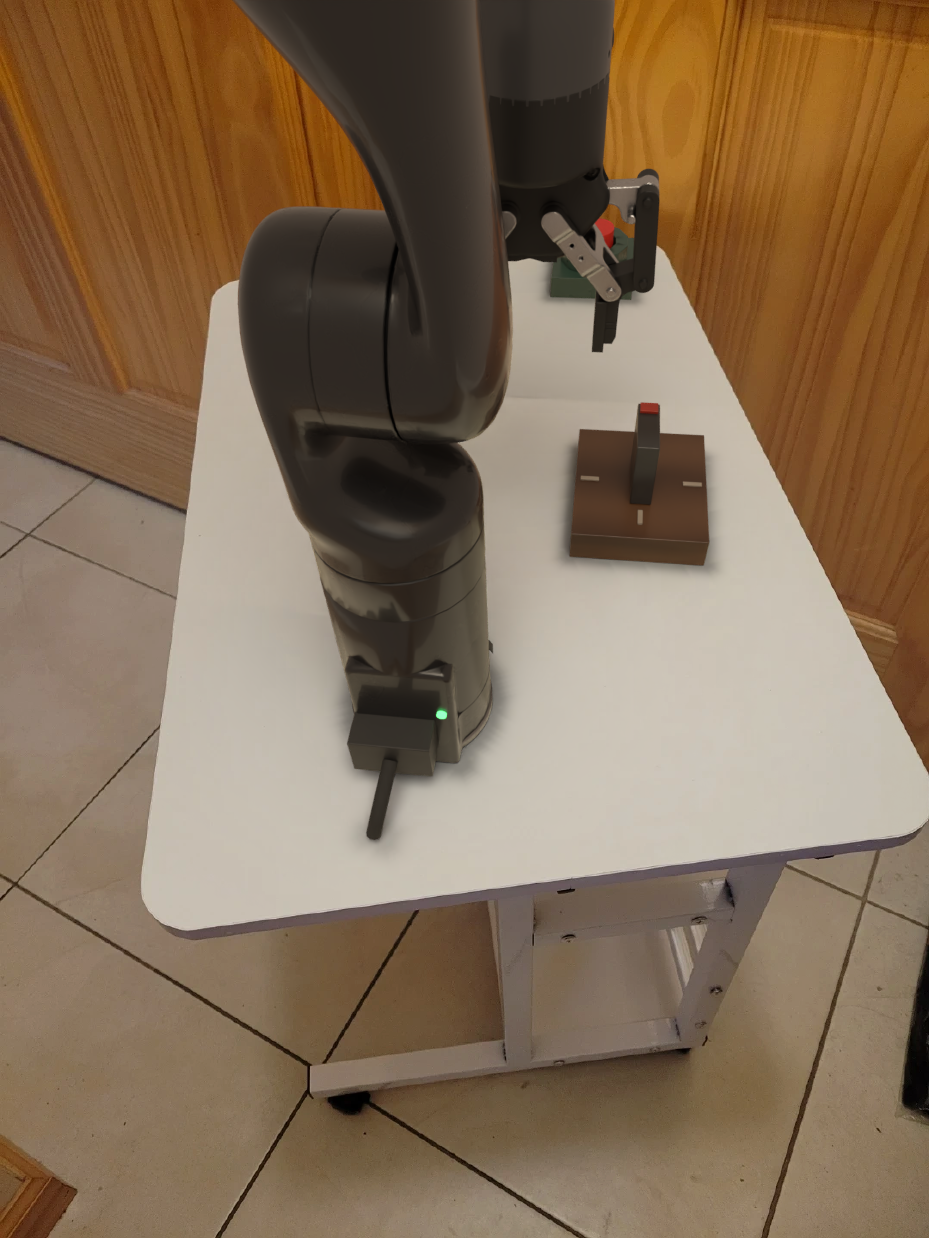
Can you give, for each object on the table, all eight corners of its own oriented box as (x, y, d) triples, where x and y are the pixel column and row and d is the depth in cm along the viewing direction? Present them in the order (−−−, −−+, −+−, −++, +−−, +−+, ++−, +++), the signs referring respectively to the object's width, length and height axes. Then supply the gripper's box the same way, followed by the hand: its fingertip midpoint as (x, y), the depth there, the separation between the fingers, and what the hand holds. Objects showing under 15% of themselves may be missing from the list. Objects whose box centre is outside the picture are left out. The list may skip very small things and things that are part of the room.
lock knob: (651, 505, 67) (660, 446, 63) (629, 503, 68) (637, 445, 63) (651, 460, 70) (660, 401, 66) (630, 459, 71) (638, 400, 66)
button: (612, 254, 88) (613, 237, 86) (575, 253, 88) (576, 236, 87) (613, 235, 90) (614, 218, 89) (577, 234, 90) (578, 217, 89)
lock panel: (703, 565, 67) (709, 541, 65) (569, 557, 68) (571, 532, 66) (699, 458, 74) (704, 433, 72) (577, 452, 75) (579, 427, 73)
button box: (630, 300, 89) (635, 263, 86) (550, 297, 90) (551, 260, 87) (632, 257, 94) (636, 220, 91) (555, 255, 95) (557, 219, 92)
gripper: (376, 93, 42) (409, 376, 55) (684, 93, 41) (644, 384, 53) (401, 29, 47) (426, 305, 59) (680, 27, 45) (644, 311, 58)
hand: (529, 342), depth 56 cm, fingers open, 8 cm apart
